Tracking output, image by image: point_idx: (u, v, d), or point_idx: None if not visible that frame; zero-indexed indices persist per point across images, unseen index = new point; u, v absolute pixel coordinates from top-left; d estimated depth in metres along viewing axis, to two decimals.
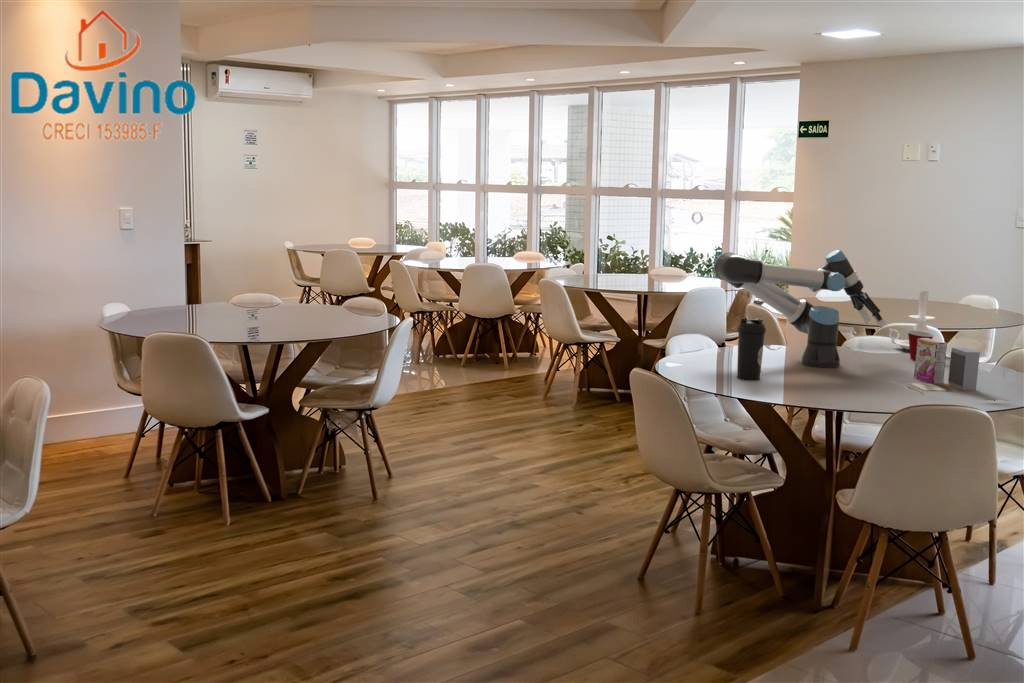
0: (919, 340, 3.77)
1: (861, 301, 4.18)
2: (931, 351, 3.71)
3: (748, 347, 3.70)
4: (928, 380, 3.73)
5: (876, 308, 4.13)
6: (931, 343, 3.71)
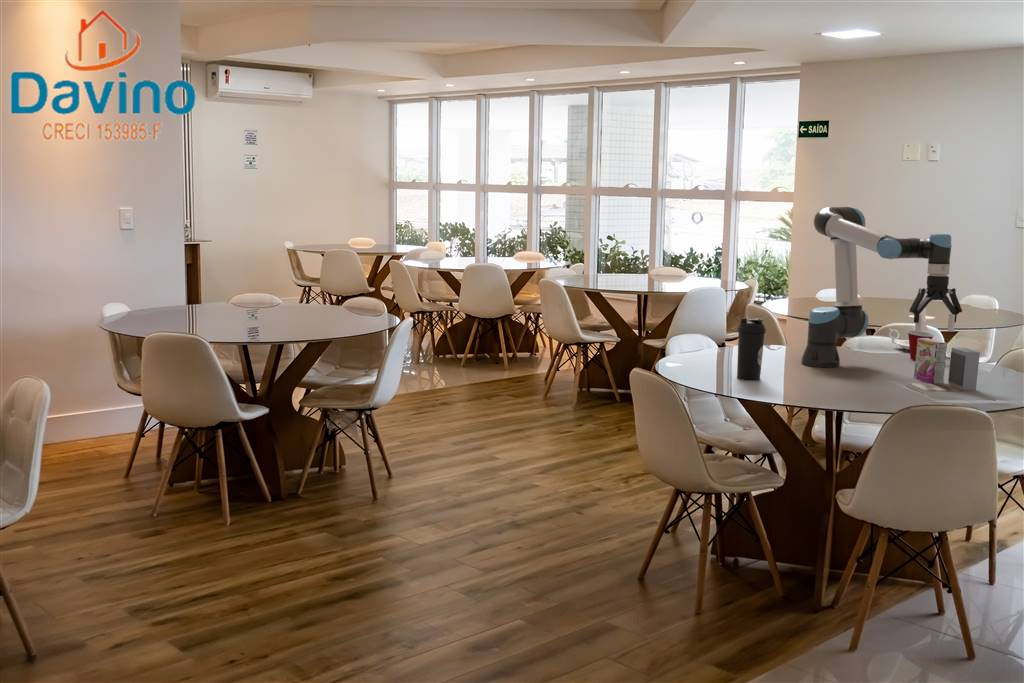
0: (919, 340, 3.77)
1: (926, 296, 3.75)
2: (931, 351, 3.71)
3: (748, 347, 3.70)
4: (928, 380, 3.73)
5: (913, 307, 3.73)
6: (931, 343, 3.71)
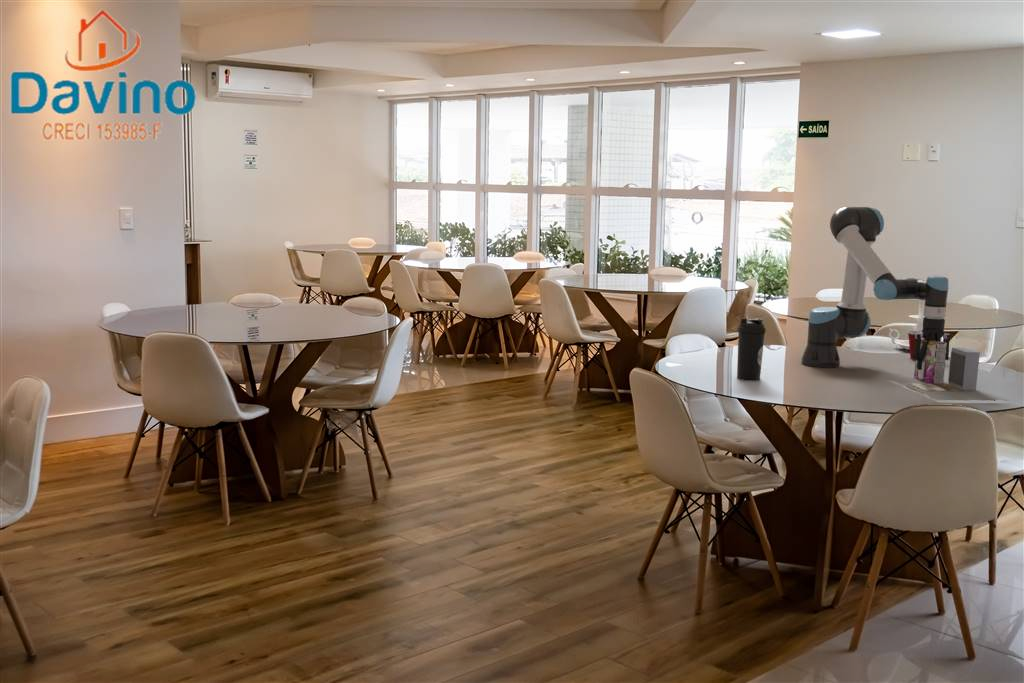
0: None
1: None
2: (931, 351, 3.71)
3: (748, 347, 3.70)
4: (928, 380, 3.73)
5: (915, 354, 3.74)
6: (931, 343, 3.71)
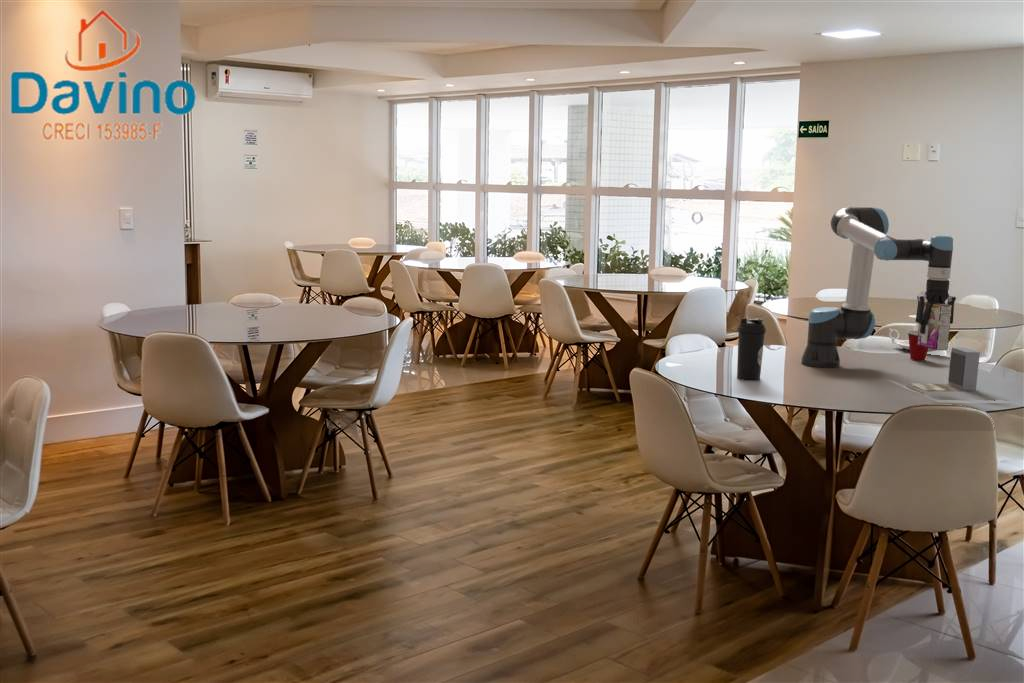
0: None
1: (927, 302, 3.59)
2: (935, 313, 3.55)
3: (748, 347, 3.70)
4: (932, 344, 3.57)
5: (918, 318, 3.58)
6: (935, 305, 3.55)
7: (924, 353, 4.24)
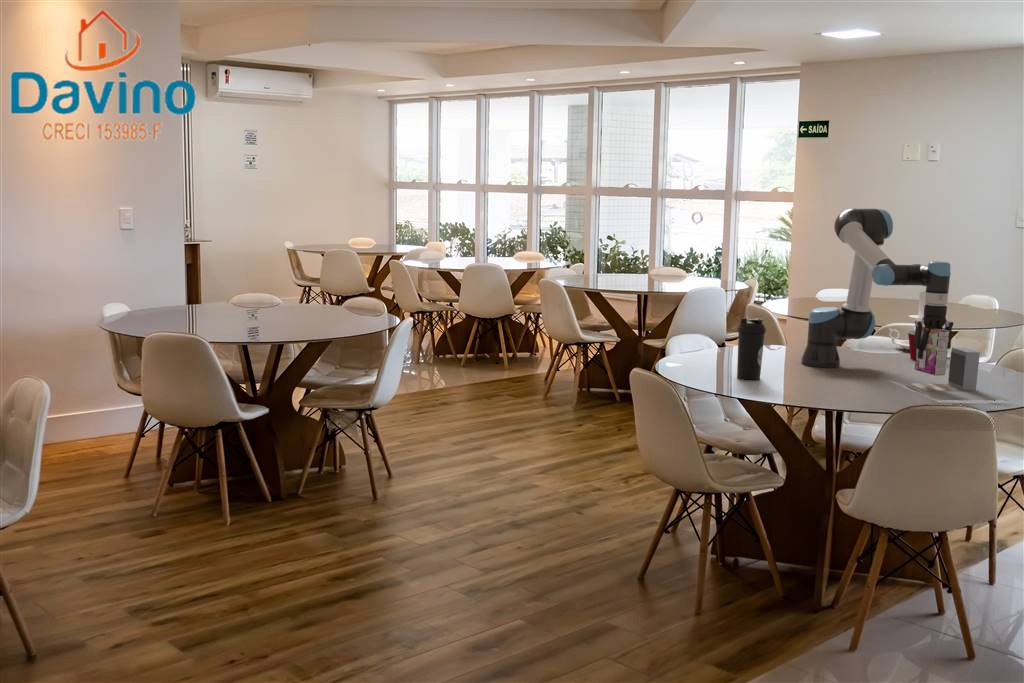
0: None
1: (925, 327, 3.61)
2: (932, 339, 3.56)
3: (748, 347, 3.70)
4: (929, 369, 3.58)
5: (916, 343, 3.59)
6: (933, 331, 3.56)
7: None
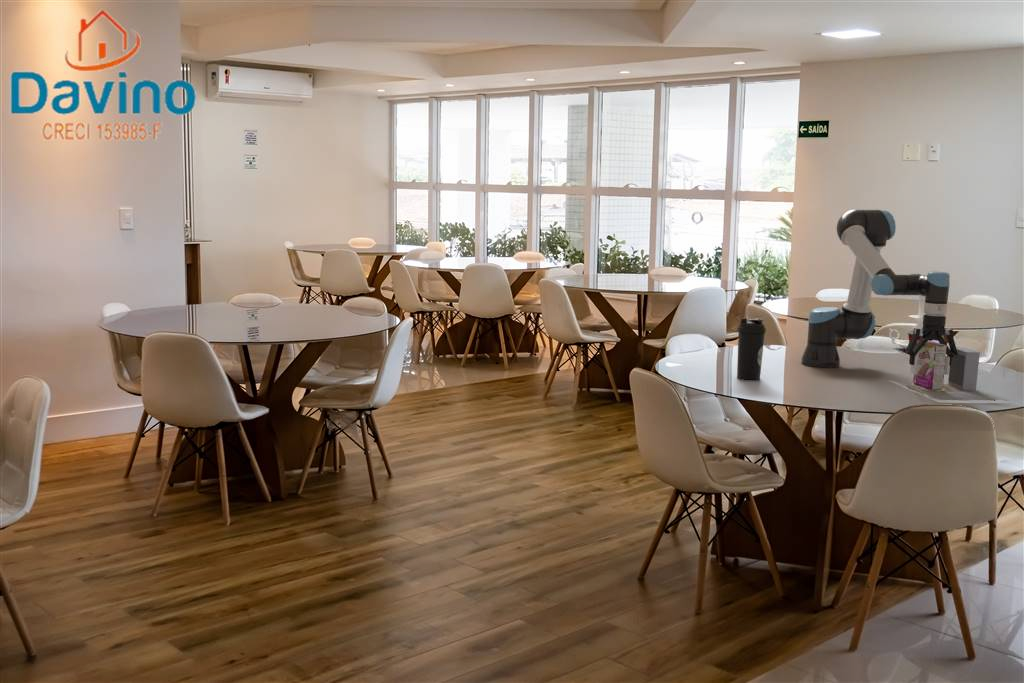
0: None
1: (922, 336, 3.61)
2: (930, 353, 3.57)
3: (748, 347, 3.70)
4: (927, 384, 3.59)
5: (908, 349, 3.59)
6: (930, 345, 3.57)
7: None
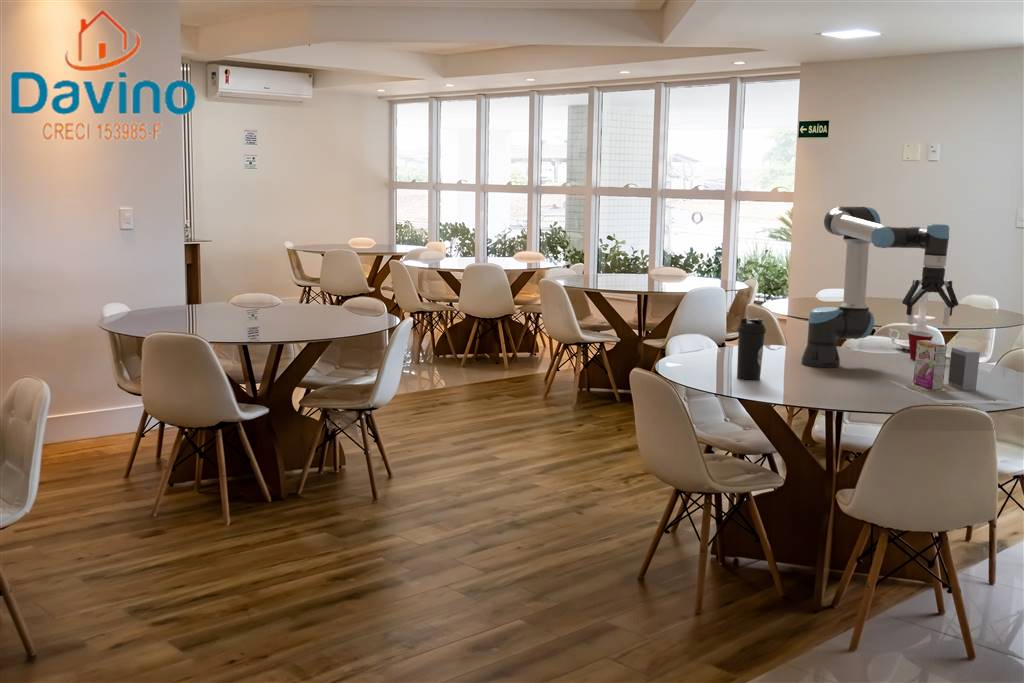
0: (918, 342, 3.64)
1: (921, 288, 3.64)
2: (930, 353, 3.57)
3: (748, 347, 3.70)
4: (927, 384, 3.59)
5: (906, 299, 3.62)
6: (930, 345, 3.57)
7: None
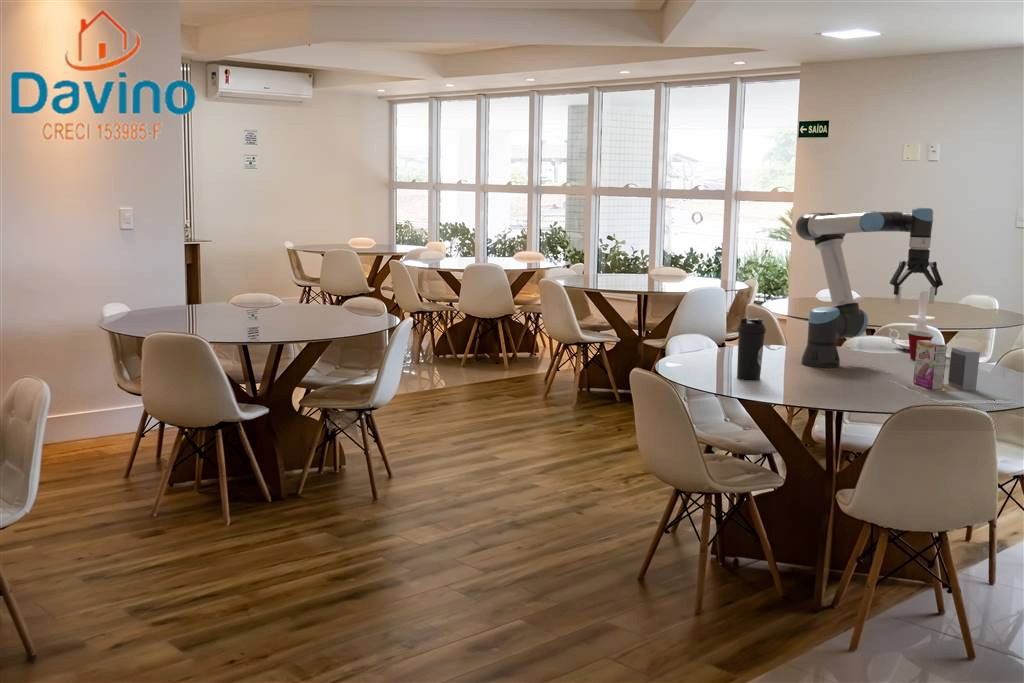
0: (918, 342, 3.64)
1: (907, 269, 3.82)
2: (930, 353, 3.57)
3: (748, 347, 3.70)
4: (927, 384, 3.59)
5: (893, 279, 3.81)
6: (930, 345, 3.57)
7: None
